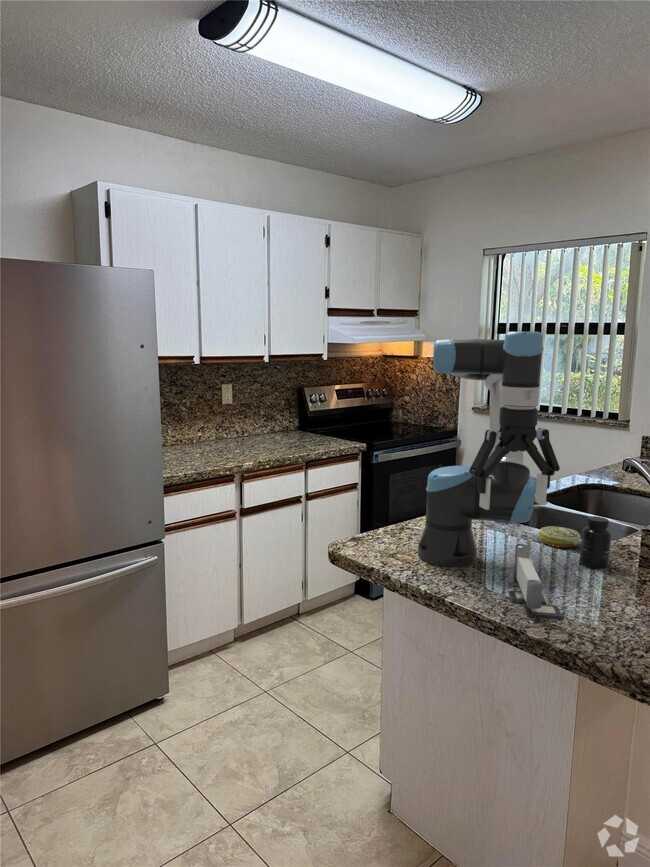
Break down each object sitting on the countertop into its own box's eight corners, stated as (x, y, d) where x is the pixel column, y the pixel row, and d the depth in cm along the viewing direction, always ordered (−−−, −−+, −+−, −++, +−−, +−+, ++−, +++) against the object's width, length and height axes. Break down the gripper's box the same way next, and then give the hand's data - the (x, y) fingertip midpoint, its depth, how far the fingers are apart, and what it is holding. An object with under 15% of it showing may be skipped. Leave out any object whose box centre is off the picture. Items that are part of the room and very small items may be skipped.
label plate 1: (512, 602, 130) (512, 599, 130) (508, 592, 135) (508, 589, 135) (545, 605, 129) (546, 602, 129) (541, 595, 134) (541, 592, 134)
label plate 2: (526, 616, 124) (527, 613, 124) (522, 605, 129) (522, 602, 129) (562, 619, 123) (562, 615, 123) (557, 608, 128) (557, 605, 128)
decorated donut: (584, 550, 162) (586, 537, 162) (543, 548, 164) (544, 535, 163) (573, 537, 173) (575, 524, 172) (535, 535, 174) (536, 523, 173)
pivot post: (506, 584, 139) (509, 547, 138) (511, 577, 144) (513, 540, 142) (529, 589, 137) (531, 551, 136) (533, 581, 141) (535, 544, 140)
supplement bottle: (611, 571, 148) (616, 524, 146) (582, 568, 149) (586, 522, 147) (605, 560, 155) (609, 515, 153) (576, 558, 156) (580, 513, 154)
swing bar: (515, 577, 138) (516, 557, 138) (528, 578, 138) (530, 557, 137) (527, 608, 123) (528, 585, 122) (542, 609, 123) (544, 586, 122)
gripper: (474, 410, 118) (468, 514, 122) (582, 407, 125) (574, 506, 128) (456, 405, 125) (451, 504, 129) (559, 403, 132) (552, 497, 136)
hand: (512, 505), depth 129 cm, fingers open, 13 cm apart
